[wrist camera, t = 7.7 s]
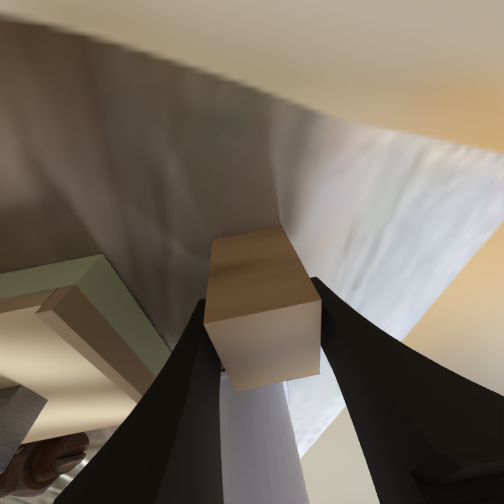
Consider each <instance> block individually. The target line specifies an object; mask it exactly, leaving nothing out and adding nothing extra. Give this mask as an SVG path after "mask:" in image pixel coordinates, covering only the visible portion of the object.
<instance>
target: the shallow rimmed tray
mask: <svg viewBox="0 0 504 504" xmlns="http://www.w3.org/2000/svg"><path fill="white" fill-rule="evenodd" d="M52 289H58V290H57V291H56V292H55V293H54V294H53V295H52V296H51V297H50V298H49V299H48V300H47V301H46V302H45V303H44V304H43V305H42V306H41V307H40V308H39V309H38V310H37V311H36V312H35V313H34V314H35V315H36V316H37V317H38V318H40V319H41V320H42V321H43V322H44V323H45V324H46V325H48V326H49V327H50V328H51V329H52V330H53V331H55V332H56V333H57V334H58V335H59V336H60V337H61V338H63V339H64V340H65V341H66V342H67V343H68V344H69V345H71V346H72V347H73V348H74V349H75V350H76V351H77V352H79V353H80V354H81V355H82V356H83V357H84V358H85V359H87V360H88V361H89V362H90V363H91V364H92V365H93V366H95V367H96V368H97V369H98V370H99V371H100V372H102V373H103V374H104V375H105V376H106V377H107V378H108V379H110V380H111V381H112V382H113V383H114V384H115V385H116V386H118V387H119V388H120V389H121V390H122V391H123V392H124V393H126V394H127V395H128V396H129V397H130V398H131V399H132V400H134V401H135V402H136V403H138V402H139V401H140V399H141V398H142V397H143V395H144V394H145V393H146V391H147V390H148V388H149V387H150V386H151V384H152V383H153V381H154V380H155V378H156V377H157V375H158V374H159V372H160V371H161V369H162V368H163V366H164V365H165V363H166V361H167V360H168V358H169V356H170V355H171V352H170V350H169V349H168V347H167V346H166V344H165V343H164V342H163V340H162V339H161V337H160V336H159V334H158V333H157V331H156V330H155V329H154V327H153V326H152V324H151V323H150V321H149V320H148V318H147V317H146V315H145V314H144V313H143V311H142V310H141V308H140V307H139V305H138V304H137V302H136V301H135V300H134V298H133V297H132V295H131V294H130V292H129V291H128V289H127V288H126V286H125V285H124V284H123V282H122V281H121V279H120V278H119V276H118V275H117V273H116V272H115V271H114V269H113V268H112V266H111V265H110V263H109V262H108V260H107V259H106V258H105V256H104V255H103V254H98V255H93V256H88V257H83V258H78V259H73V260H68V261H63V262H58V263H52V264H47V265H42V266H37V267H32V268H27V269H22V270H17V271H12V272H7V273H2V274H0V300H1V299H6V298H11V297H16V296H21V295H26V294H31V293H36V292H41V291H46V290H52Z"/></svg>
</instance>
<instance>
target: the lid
mask: <svg viewBox="0 0 504 504" xmlns="http://www.w3.org/2000/svg"><path fill="white" fill-rule="evenodd" d="M57 290H58V289H52V290H46V291H41V292H36V293H31V294H26V295H21V296H16V297H11V298H6V299H1V300H0V473H3V472H4V470H5V469H6V467H7V466H8V464H9V462H10V461H11V459H12V458H13V456H14V454H15V453H16V451H17V450H18V448H19V446H20V445H21V444H24V443H29V442H34V441H39V440H44V439H49V438H54V437H59V436H64V435H69V434H74V433H79V432H84V431H89V430H94V429H99V428H104V427H109V426H114V425H119V424H122V423H123V421H124V420H125V419H126V418H127V416H128V415H129V414H130V413H131V411H132V410H133V409H134V407H135V406H136V405H137V403H136V402H135V401H134V400H132V399H131V398H130V397H129V396H128V395H127V394H126V393H124V392H123V391H122V390H121V389H120V388H119V387H118V386H116V385H115V384H114V383H113V382H112V381H111V380H110V379H108V378H107V377H106V376H105V375H104V374H103V373H102V372H100V371H99V370H98V369H97V368H96V367H95V366H93V365H92V364H91V363H90V362H89V361H88V360H87V359H85V358H84V357H83V356H82V355H81V354H80V353H79V352H77V351H76V350H75V349H74V348H73V347H72V346H71V345H69V344H68V343H67V342H66V341H65V340H64V339H63V338H61V337H60V336H59V335H58V334H57V333H56V332H55V331H53V330H52V329H51V328H50V327H49V326H48V325H46V324H45V323H44V322H43V321H42V320H41V319H40V318H38V317H37V316H36V315H35V314H34V313H35V312H36V311H37V310H38V309H39V308H40V307H41V306H42V305H43V304H44V303H45V302H46V301H47V300H48V299H49V298H50V297H51V296H52V295H53V294H54V293H55V292H56V291H57Z"/></svg>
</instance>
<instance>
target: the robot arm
mask: <svg viewBox="0 0 504 504" xmlns="http://www.w3.org/2000/svg"><path fill="white" fill-rule="evenodd" d="M310 279H311V281H312V283H313V285H314V287H315V289H316V291H317V292H318V294H319V296H320V298H321V300H322V301H321V340H320V345H321V347H322V349H323V351H324V353H325V355H326V357H327V359H328V361H329V363H330V366H331V368H332V370H333V372H334V374H335V377H336V379H337V382H338V384H339V387H340V390H341V392H342V395H343V398H344V400H345V403H346V406H347V408H348V411H349V414H350V417H351V419H352V422H353V425H354V428H355V431H356V433H357V436H358V439H359V442H360V445H361V448H362V451H363V454H364V456H365V459H366V462H367V465H368V468H369V471H370V474H371V477H372V480H373V483H374V486H375V489H376V493H377V496H378V499H379V502H380V504H504V396H502V395H500V394H498V393H496V392H494V391H491V390H489V389H487V388H485V387H483V386H481V385H479V384H476V383H474V382H472V381H470V380H468V379H466V378H464V377H462V376H460V375H458V374H456V373H455V372H453V371H451V370H449V369H447V368H445V367H443V366H441V365H439V364H438V363H436V362H434V361H432V360H431V359H428V358H427V357H425V356H423V355H422V354H420V353H418V352H416V351H414V350H412V349H411V348H409V347H408V346H406V345H404V344H403V343H401V342H400V341H398V340H396V339H395V338H393V337H392V336H390V335H389V334H387V333H386V332H384V331H383V330H381V329H380V328H378V327H377V326H375V325H374V324H373V323H371V322H370V321H369V320H367V319H366V318H365V317H363V316H362V315H360V314H359V313H358V312H357V311H355V310H354V309H353V308H352V307H350V306H349V305H348V304H347V303H346V302H344V301H343V300H342V299H341V298H340V297H338V296H337V295H336V294H335V293H334V292H333V291H332V290H330V289H329V288H328V287H327V286H326V285H325V284H324V283H323V282H322V281H321V280H320V279H319V278H317V277H312V278H310ZM205 305H206V299H201V300H199V301H198V303H197V305H196V307H195V310H194V312H193V314H192V316H191V318H190V320H189V322H188V324H187V326H186V328H185V330H184V332H183V334H182V335H181V337H180V339H179V341H178V343H177V345H176V346H175V348H174V350H173V351H172V353H171V355H170V356H169V358H168V360H167V361H166V363H165V365H164V366H163V368H162V369H161V371H160V372H159V374H158V375H157V377H156V378H155V380H154V381H153V383H152V384H151V386H150V387H149V388H148V390H147V391H146V393H145V394H144V395H143V397H142V398H141V399H140V401H139V402H138V403H137V405H136V406H135V407H134V409H133V410H132V411H131V413H130V414H129V415H128V416H127V418H126V419H125V420H124V421H123V423H122V424H121V425H120V426H119V427H118V429H117V430H116V431H115V432H114V433H113V435H112V436H111V437H110V438H109V440H108V441H107V442H106V443H105V444H104V446H103V447H102V448H101V449H100V450H99V451H98V453H97V454H96V455H95V456H94V457H93V458H92V459H91V460H90V461H89V463H88V464H87V465H86V466H85V467H84V468H83V469H82V470H81V471H80V473H79V474H78V475H77V476H76V477H75V478H74V479H73V480H72V481H71V482H70V484H69V485H68V486H67V487H66V488H65V489H64V490H63V491H62V492H61V493H60V494H59V495H58V497H57V498H56V499H55V500H54V502H53V504H309V500H308V495H307V491H306V487H305V482H304V477H303V473H302V469H301V464H300V459H299V454H298V450H297V445H296V441H295V436H294V432H293V427H292V423H291V418H290V413H289V409H288V406H289V405H290V402H289V394H288V387H287V381H284V382H279V383H274V384H269V385H265V386H260V387H255V388H250V389H245V390H240V391H236V392H235V390H234V387H233V385H232V383H231V381H230V379H229V377H228V375H227V373H226V371H224V372H221V360H220V358H219V356H218V354H217V352H216V350H215V347H214V345H213V343H212V341H211V339H210V337H209V335H208V333H207V331H206V328H205V326H204V314H205Z"/></svg>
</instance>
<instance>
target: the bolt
mask: <svg viewBox="0 0 504 504" xmlns="http://www.w3.org/2000/svg"><path fill="white" fill-rule="evenodd" d="M88 446H89V439H88V437H87V435H86V434H85V433H84V432H79V433H74V434H69V435H64V436H59V437H54V438H49V439H44V440H39V441H34V442H30V443H29V444H28V445H27V446H26V447H24V448H23V449H22V450H21V451H20V452H19V453H18V454H15V455H14V456H13V458H12V459H11V461H10V462H9V464H8V466H7V467H6V469H5V470H4V472H3V473H0V498H2V497H5V496H7V495H12V496H18V497H35V496H37V495H40V494H43V493H44V492H45V491H46V490H47V489H48V488H49V487H50V486H51V485H52V484H53V483H54V482H55V480H56V479H57V478H58V477H59V476H60V475H62V474H64V473H66V472H69V471H71V470H72V469H73V468H74V467H75V466H76V465H77V464H79V463H80V462H81V461H82V460H83V459H84V457H85V456H86V453H84V451H85V450H87V448H88ZM83 453H84V454H83Z"/></svg>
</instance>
